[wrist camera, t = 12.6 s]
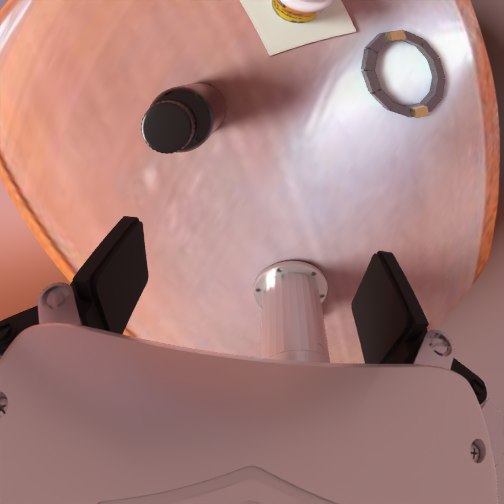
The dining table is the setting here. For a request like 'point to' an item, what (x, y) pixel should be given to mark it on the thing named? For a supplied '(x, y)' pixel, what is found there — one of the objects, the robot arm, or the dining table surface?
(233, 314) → the dining table surface
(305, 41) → the coaster
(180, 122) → the supplement bottle
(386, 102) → the collar
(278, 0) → the supplement bottle
